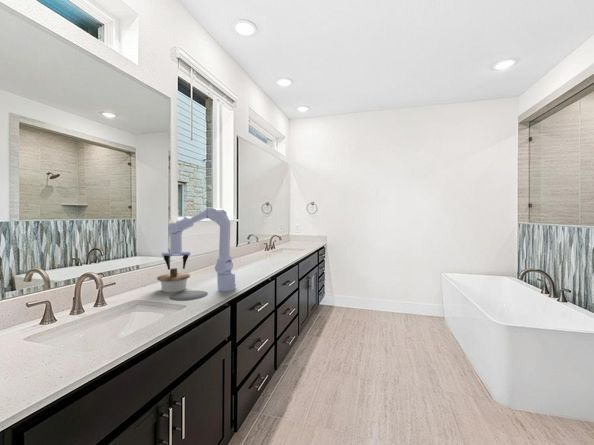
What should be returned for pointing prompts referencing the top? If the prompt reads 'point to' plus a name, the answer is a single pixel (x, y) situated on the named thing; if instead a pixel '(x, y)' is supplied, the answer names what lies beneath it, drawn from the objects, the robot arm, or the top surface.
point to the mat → (188, 295)
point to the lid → (173, 276)
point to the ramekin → (174, 285)
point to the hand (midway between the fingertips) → (176, 269)
